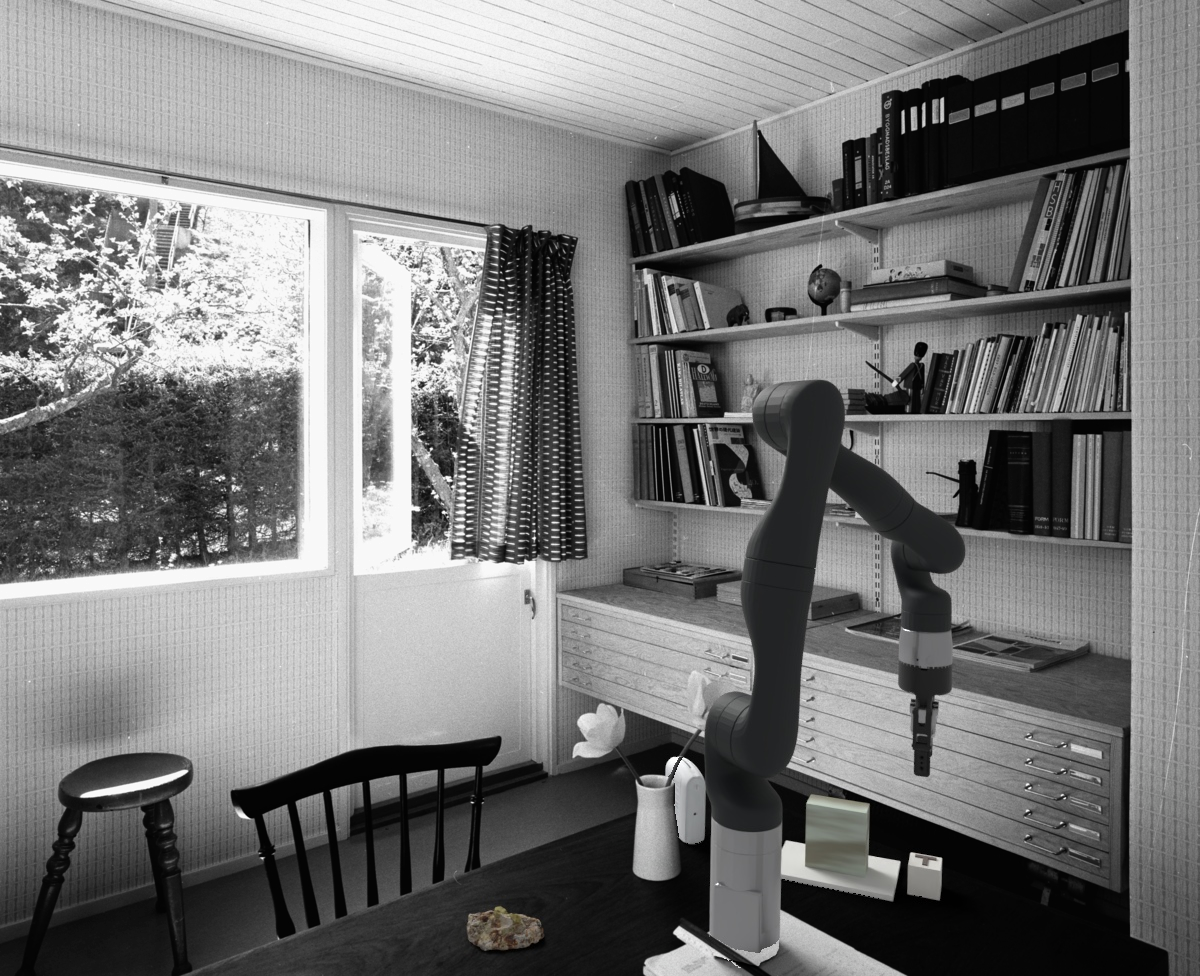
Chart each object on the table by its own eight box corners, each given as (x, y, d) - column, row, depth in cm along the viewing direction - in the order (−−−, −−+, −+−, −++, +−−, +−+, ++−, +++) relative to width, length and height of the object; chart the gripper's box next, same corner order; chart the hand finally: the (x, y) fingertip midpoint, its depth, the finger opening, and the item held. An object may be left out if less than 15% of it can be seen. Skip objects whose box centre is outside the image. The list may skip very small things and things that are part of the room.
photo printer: (708, 843, 151) (709, 770, 150) (684, 846, 149) (685, 772, 149) (684, 818, 160) (685, 749, 160) (661, 821, 159) (662, 751, 158)
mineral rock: (456, 935, 118) (473, 890, 126) (457, 961, 119) (475, 915, 127) (536, 946, 116) (549, 899, 124) (537, 972, 118) (550, 924, 125)
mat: (892, 901, 132) (893, 896, 132) (770, 877, 139) (770, 872, 139) (900, 866, 143) (900, 861, 143) (786, 845, 150) (786, 840, 150)
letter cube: (939, 900, 132) (940, 869, 132) (907, 894, 134) (908, 863, 134) (941, 887, 137) (942, 856, 136) (909, 881, 138) (910, 851, 138)
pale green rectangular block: (864, 878, 137) (866, 813, 137) (804, 866, 141) (806, 803, 140) (868, 866, 141) (869, 803, 140) (809, 855, 144) (811, 794, 144)
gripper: (902, 645, 142) (900, 747, 143) (894, 667, 129) (893, 779, 130) (953, 649, 139) (951, 753, 140) (951, 672, 126) (949, 786, 127)
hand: (923, 765), depth 135 cm, fingers open, 8 cm apart
